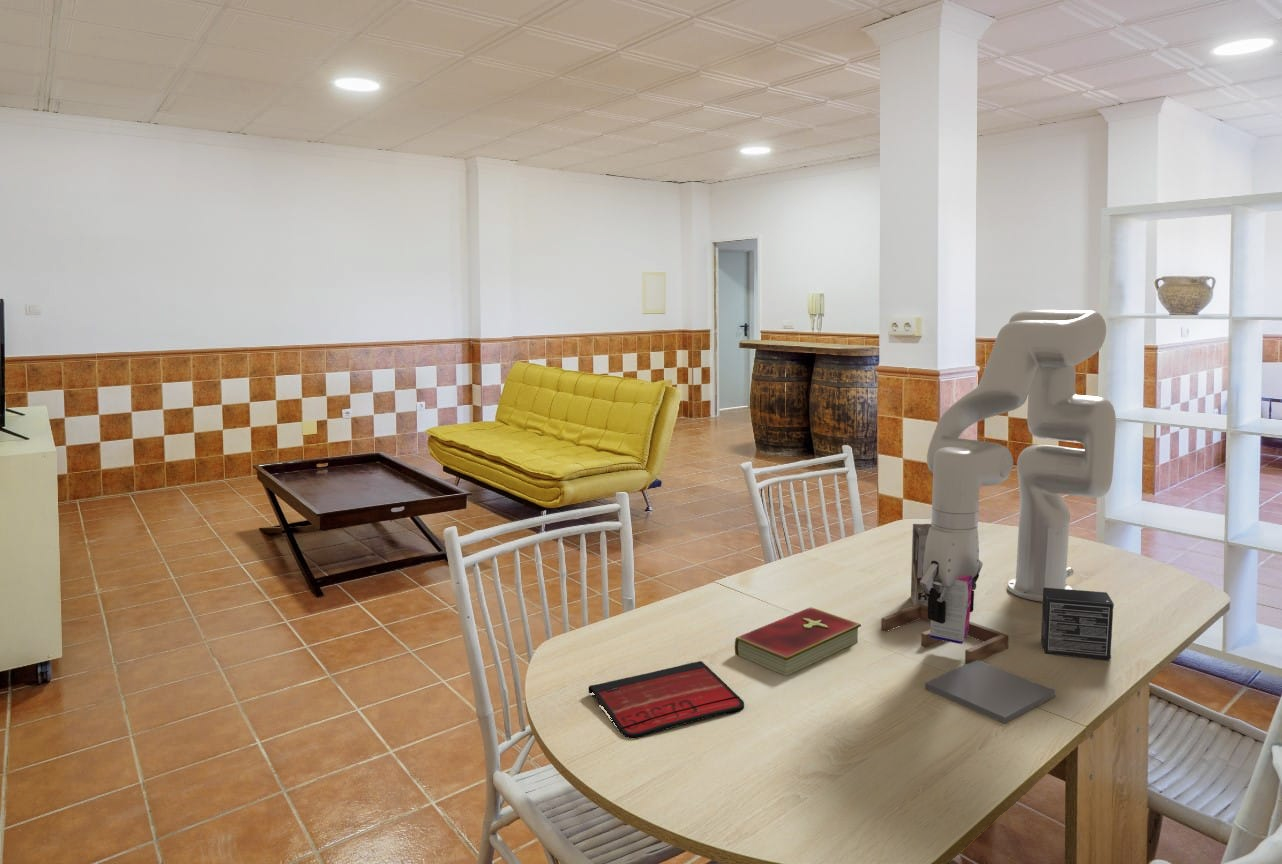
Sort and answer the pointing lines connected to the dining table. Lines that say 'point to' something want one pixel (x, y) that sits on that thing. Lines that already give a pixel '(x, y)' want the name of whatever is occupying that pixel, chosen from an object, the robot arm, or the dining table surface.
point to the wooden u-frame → (987, 648)
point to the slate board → (990, 690)
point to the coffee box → (918, 563)
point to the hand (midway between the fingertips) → (950, 614)
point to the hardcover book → (797, 640)
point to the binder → (665, 699)
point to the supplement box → (954, 612)
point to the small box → (1077, 623)
